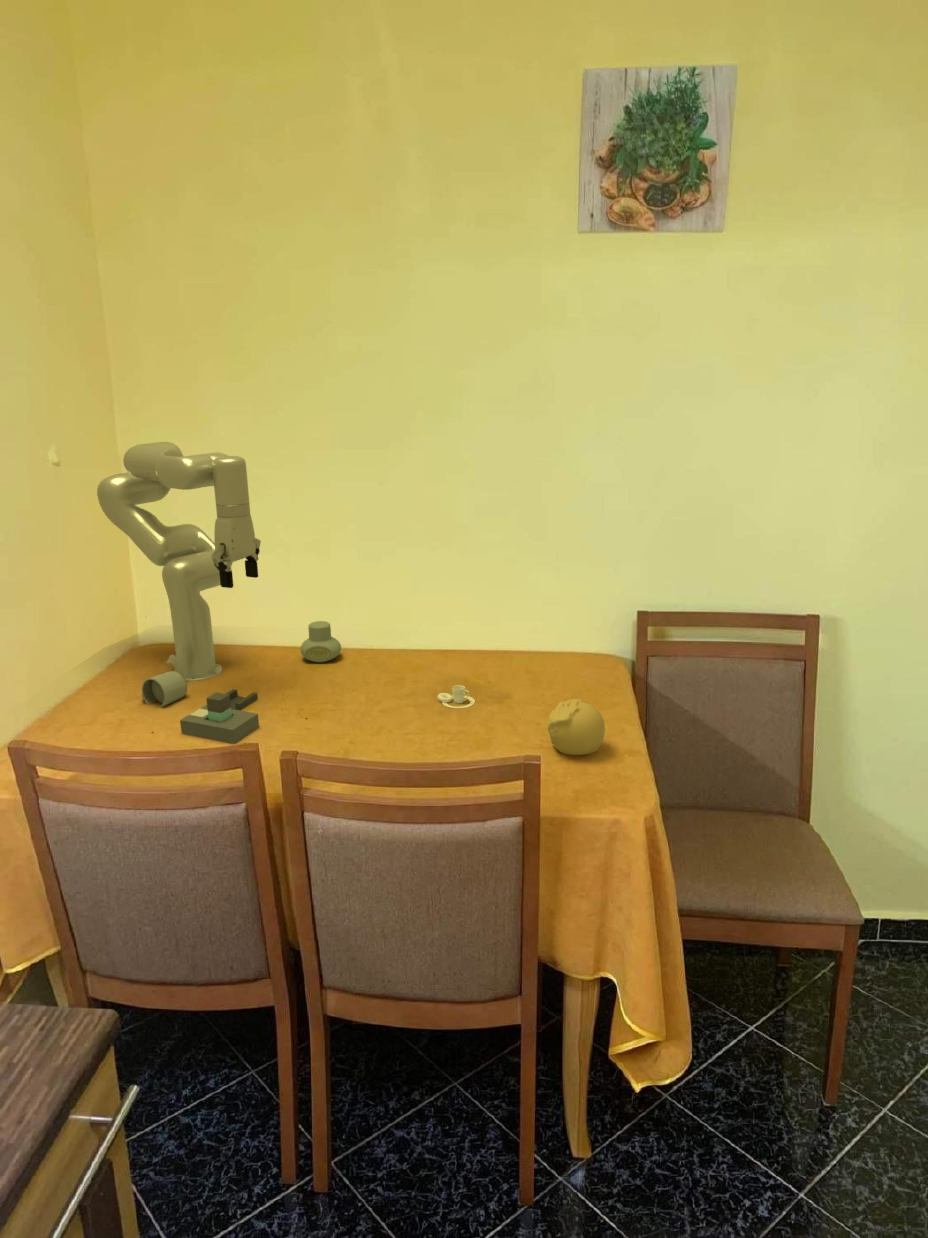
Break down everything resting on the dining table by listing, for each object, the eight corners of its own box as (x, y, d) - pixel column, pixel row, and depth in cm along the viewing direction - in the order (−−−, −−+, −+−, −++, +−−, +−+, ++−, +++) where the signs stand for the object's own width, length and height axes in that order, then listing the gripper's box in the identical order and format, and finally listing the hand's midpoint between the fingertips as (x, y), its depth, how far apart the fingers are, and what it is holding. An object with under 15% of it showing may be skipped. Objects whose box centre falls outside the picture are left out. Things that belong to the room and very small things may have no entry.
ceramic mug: (191, 699, 211) (187, 669, 208) (166, 711, 204) (162, 681, 201) (159, 693, 215) (154, 663, 213) (133, 704, 208) (129, 674, 206)
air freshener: (298, 664, 233) (296, 629, 230) (304, 653, 240) (301, 619, 237) (339, 664, 233) (337, 628, 230) (343, 653, 241) (341, 619, 237)
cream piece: (432, 703, 208) (432, 687, 207) (455, 693, 214) (455, 678, 212) (459, 713, 202) (459, 696, 201) (481, 703, 208) (481, 687, 207)
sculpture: (552, 734, 190) (553, 688, 187) (607, 741, 187) (609, 694, 183) (541, 757, 180) (542, 709, 176) (599, 764, 176) (601, 716, 173)
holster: (215, 709, 205) (214, 699, 204) (233, 698, 211) (233, 689, 210) (240, 713, 202) (239, 704, 201) (258, 702, 208) (257, 693, 208)
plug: (210, 731, 191) (206, 698, 188) (220, 725, 194) (216, 692, 191) (223, 734, 189) (219, 700, 187) (232, 728, 192) (229, 694, 190)
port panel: (182, 736, 191) (179, 719, 189) (208, 720, 199) (206, 703, 197) (234, 747, 186) (232, 729, 184) (259, 730, 193) (257, 712, 192)
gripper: (242, 503, 209) (248, 571, 215) (195, 516, 194) (203, 589, 199) (268, 505, 207) (274, 574, 212) (223, 518, 191) (230, 593, 197)
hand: (239, 582), depth 206 cm, fingers open, 9 cm apart
